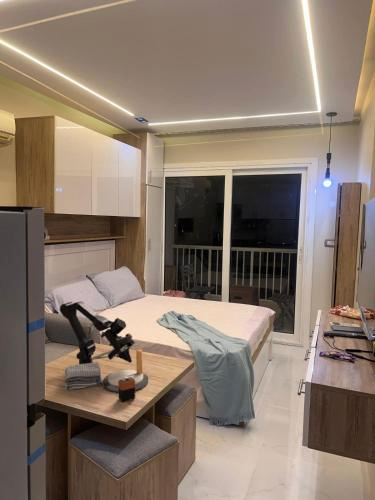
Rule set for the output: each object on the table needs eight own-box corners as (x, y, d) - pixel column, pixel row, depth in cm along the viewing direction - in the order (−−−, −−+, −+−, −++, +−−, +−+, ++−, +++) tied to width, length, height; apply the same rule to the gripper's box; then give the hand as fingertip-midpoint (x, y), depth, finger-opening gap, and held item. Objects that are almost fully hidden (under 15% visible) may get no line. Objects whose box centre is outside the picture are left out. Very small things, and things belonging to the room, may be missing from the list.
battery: (118, 398, 168) (118, 378, 167) (131, 395, 172) (131, 374, 171) (121, 402, 165) (121, 381, 164) (135, 398, 168) (135, 378, 167)
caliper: (123, 353, 226) (123, 343, 226) (123, 353, 226) (123, 343, 225) (90, 359, 216) (90, 348, 216) (91, 359, 215) (91, 349, 215)
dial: (117, 390, 172) (117, 363, 171) (102, 377, 187) (101, 352, 186) (150, 380, 184) (150, 355, 183) (133, 368, 198) (133, 345, 197)
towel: (64, 379, 189) (64, 364, 188) (100, 374, 195) (100, 360, 194) (64, 392, 175) (64, 376, 174) (103, 386, 181) (103, 371, 180)
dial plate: (97, 392, 174) (97, 388, 174) (109, 372, 197) (109, 369, 197) (144, 393, 173) (144, 390, 173) (151, 373, 196) (151, 370, 196)
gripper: (112, 335, 183) (131, 359, 180) (131, 325, 200) (149, 347, 197) (99, 347, 187) (117, 372, 184) (119, 337, 204) (136, 359, 201)
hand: (131, 362), depth 191 cm, fingers closed
